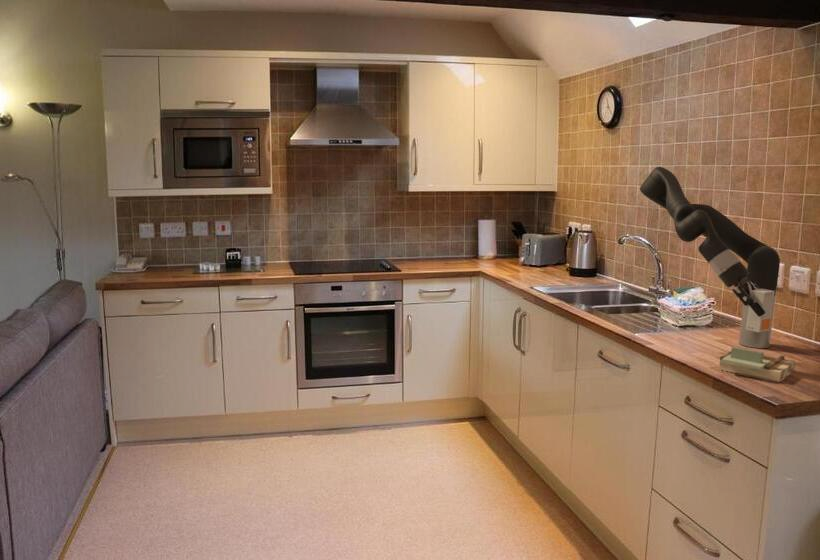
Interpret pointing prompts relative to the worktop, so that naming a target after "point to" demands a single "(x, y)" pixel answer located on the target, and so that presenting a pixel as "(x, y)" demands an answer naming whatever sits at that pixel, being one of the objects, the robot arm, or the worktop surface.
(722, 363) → the board
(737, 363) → the cover
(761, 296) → the skincare box
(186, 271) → the worktop surface
